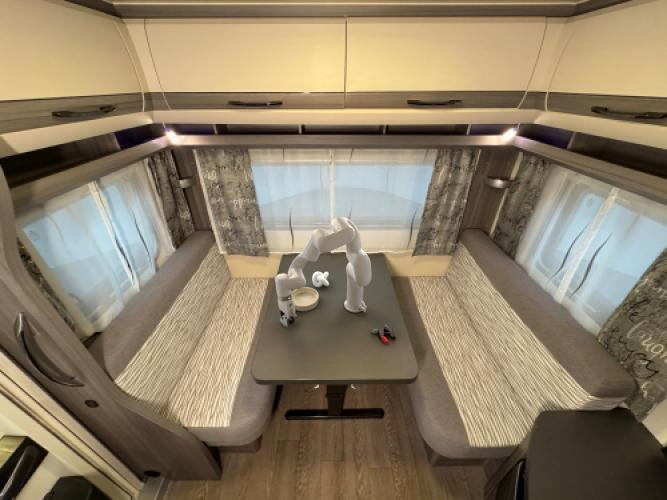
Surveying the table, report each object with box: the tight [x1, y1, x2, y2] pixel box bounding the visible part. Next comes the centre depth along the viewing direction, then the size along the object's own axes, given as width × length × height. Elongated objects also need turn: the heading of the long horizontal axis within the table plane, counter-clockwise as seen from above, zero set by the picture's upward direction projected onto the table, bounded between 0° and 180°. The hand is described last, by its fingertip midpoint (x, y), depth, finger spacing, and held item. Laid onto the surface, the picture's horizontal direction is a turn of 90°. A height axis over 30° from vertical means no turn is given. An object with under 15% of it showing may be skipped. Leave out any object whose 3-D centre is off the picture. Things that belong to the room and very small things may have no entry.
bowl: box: [291, 286, 320, 312], centre depth 161 cm, size 18×18×4 cm
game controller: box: [279, 314, 298, 328], centre depth 145 cm, size 10×5×6 cm
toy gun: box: [371, 323, 396, 345], centre depth 135 cm, size 10×12×5 cm
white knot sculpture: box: [311, 271, 330, 288], centre depth 175 cm, size 11×12×9 cm
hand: (287, 319), depth 145 cm, fingers closed on game controller, 7 cm apart
